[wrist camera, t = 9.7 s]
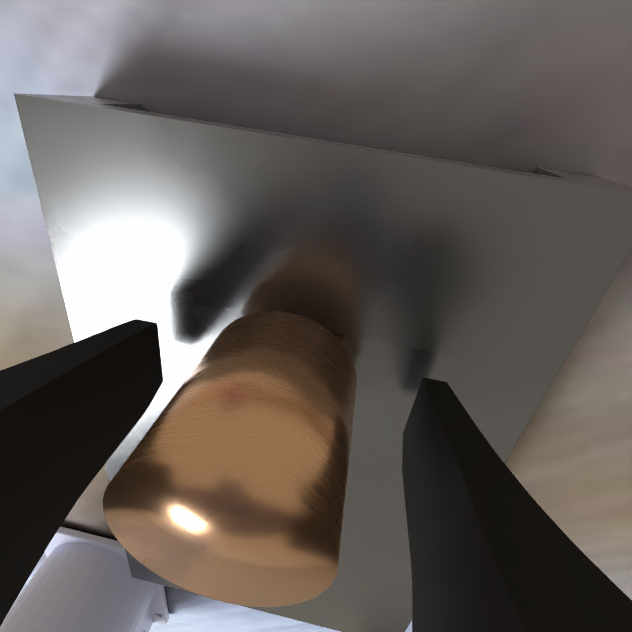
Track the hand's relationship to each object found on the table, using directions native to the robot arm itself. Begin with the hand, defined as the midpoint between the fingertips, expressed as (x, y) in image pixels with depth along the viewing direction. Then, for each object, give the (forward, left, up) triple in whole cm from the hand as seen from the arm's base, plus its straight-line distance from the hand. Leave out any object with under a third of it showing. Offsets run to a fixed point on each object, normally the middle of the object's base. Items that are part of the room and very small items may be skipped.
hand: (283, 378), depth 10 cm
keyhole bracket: (-5, 0, -3) cm, 6 cm away
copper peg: (0, 0, -3) cm, 4 cm away
